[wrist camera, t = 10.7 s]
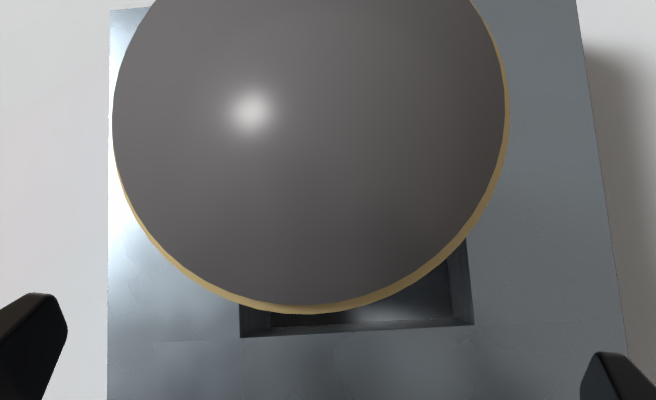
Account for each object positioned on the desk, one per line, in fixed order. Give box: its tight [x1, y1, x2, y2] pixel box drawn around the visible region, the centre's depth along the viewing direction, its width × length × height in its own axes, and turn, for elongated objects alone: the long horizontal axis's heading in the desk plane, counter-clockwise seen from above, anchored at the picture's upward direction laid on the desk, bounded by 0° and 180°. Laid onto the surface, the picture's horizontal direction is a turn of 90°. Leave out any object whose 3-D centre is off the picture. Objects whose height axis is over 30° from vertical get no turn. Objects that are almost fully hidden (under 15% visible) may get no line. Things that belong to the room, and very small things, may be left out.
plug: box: [111, 0, 510, 314], centre depth 13 cm, size 5×5×14 cm
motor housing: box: [107, 0, 629, 400], centre depth 18 cm, size 18×14×4 cm
